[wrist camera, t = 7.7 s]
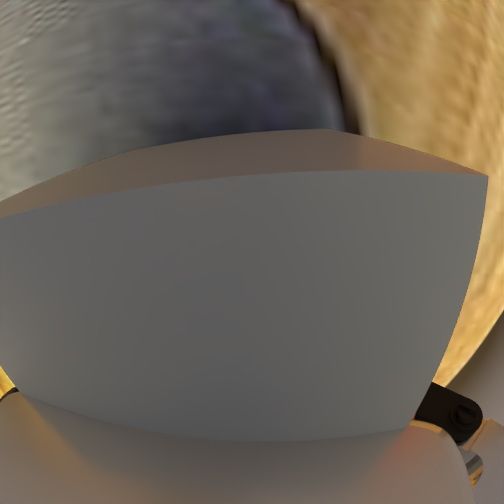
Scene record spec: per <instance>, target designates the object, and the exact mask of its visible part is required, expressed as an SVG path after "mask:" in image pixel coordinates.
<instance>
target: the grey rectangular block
mask: <svg viewBox="0 0 504 504" xmlns="http://www.w3.org/2000/svg"><path fill="white" fill-rule="evenodd" d="M487 185H488V176H487V175H485V174H482V173H480V172H477V171H475V170H472V169H470V168H467V167H464V166H462V165H459V164H456V163H453V162H451V161H448V160H445V159H442V158H439V157H436V156H433V155H430V154H427V153H424V152H420V151H417V150H414V149H410V148H407V147H403V146H400V145H396V144H393V143H389V142H385V141H381V140H377V139H373V138H369V137H365V136H360V135H356V134H351V133H346V132H342V131H337V130H332V129H299V130H280V131H265V132H253V133H242V134H233V135H224V136H216V137H208V138H201V139H194V140H187V141H181V142H175V143H169V144H163V145H158V146H153V147H147V148H142V149H138V150H133V151H129V152H126V153H122V154H119V155H116V156H113V157H110V158H107V159H103V160H100V161H98V162H95V163H92V164H89V165H86V166H83V167H80V168H78V169H75V170H72V171H70V172H67V173H65V174H62V175H59V176H57V177H54V178H52V179H50V180H47V181H45V182H42V183H40V184H38V185H35V186H33V187H31V188H29V189H26V190H24V191H22V192H20V193H18V194H16V195H13V196H11V197H9V198H7V199H5V200H3V201H1V202H0V365H1V367H2V368H3V370H4V371H5V373H6V374H7V375H8V377H9V378H10V380H11V381H12V382H13V384H14V385H15V386H16V388H17V389H18V390H19V392H20V393H21V394H23V395H26V396H28V397H31V398H33V399H36V400H39V401H41V402H44V403H47V404H49V405H52V406H55V407H58V408H61V409H64V410H67V411H70V412H73V413H77V414H80V415H83V416H87V417H90V418H94V419H97V420H101V421H105V422H109V423H113V424H117V425H122V426H126V427H131V428H136V429H141V430H146V431H152V432H157V433H163V434H170V435H177V436H185V437H193V438H202V439H213V440H227V441H249V442H285V441H310V440H324V439H335V438H344V437H352V436H360V435H367V434H373V433H379V432H385V431H391V430H396V429H401V428H406V427H407V426H408V425H409V423H410V421H411V420H412V418H413V416H414V414H415V413H416V411H417V409H418V407H419V405H420V404H421V402H422V400H423V398H424V396H425V394H426V392H427V390H428V388H429V386H430V384H431V382H432V380H433V378H434V376H435V374H436V372H437V369H438V367H439V365H440V363H441V360H442V358H443V356H444V353H445V351H446V349H447V346H448V344H449V341H450V339H451V336H452V333H453V331H454V328H455V325H456V323H457V320H458V317H459V314H460V311H461V308H462V305H463V302H464V299H465V295H466V292H467V289H468V285H469V281H470V278H471V274H472V270H473V266H474V262H475V258H476V253H477V249H478V244H479V239H480V234H481V229H482V223H483V217H484V210H485V203H486V194H487Z"/></svg>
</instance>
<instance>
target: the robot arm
mask: <svg viewBox="0 0 504 504" xmlns="http://www.w3.org/2000/svg"><path fill="white" fill-rule="evenodd" d="M0 504H504V427H503V426H502V425H500V424H499V423H497V422H496V421H494V420H493V419H491V418H489V419H488V420H486V419H484V418H483V414H482V411H481V408H480V407H479V405H478V404H477V403H476V402H474V401H473V400H471V399H469V398H466V397H464V396H462V395H460V394H457V393H455V392H453V391H451V390H449V389H447V388H444V387H442V386H440V385H438V384H436V383H434V382H431V384H430V386H429V388H428V390H427V392H426V394H425V396H424V398H423V400H422V402H421V404H420V405H419V407H418V409H417V411H416V413H415V414H414V416H413V418H412V420H411V421H410V423H409V425H408V426H407V427H406V428H401V429H396V430H391V431H385V432H379V433H373V434H367V435H360V436H352V437H344V438H335V439H324V440H310V441H285V442H249V441H227V440H213V439H202V438H193V437H185V436H177V435H170V434H163V433H157V432H152V431H146V430H141V429H136V428H131V427H126V426H122V425H117V424H113V423H109V422H105V421H101V420H97V419H94V418H90V417H87V416H83V415H80V414H77V413H73V412H70V411H67V410H64V409H61V408H58V407H55V406H52V405H49V404H47V403H44V402H41V401H39V400H36V399H33V398H31V397H28V396H26V395H23V394H21V393H20V392H19V390H18V389H17V388H16V389H15V390H14V391H13V393H12V394H9V395H8V396H6V397H5V398H4V399H3V400H2V401H1V402H0Z"/></svg>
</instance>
